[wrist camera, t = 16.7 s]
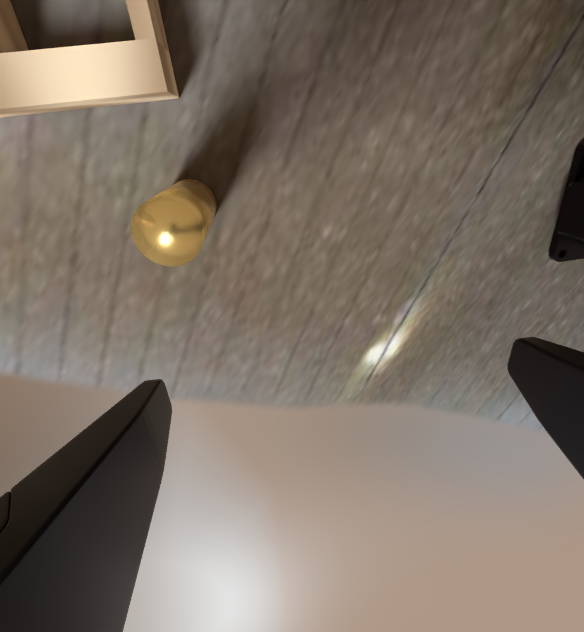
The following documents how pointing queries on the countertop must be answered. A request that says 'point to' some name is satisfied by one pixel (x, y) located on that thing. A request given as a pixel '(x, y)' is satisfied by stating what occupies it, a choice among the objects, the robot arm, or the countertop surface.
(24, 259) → the countertop surface
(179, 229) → the pin
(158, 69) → the socket board
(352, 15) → the countertop surface
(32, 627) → the robot arm
